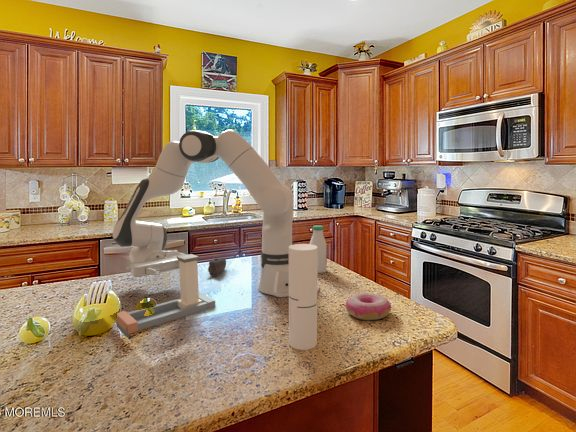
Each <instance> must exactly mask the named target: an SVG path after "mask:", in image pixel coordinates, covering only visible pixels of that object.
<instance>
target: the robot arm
mask: <svg viewBox="0 0 576 432" xmlns="http://www.w3.org/2000/svg"><path fill="white" fill-rule="evenodd" d="M218 159H221V160H222V161H223V162H224V163H225V164H226V166H227V167H228V168H229V169H230V170H231V171H232V173H233V175H235V176H236V177H237V178H238V179H239V181H240V182H241V184H243V185H244V187H245V188H246V190H247V191H248V192H249V194H250V196H251V197H252V198H253V199H254V201H255V203H256V204H257V205H258V207H259V208H260V210H261V211H262V212H263V216H262V217H263V218H262V228H261V249H262V250H261V252H260V266H261V274H260V280H259V285H258V288H257V289H258V291H259V292H261V293H263V294H265V295H271V296H273V297H276V298H286V297H287V298H288V297H289V246H290V245H293V216H294V215H293V213H294V211H293V210H294V196H293V195H294V194H293V191H292V190H291V188H290V187H289V186H287V185H286V184H284V183H282V182H281V181H280V180H279V179H278V177H277V176H276V175H275V174H274V172H273V171H272V169H271V168H270V167H269V165H268V163H266V161H265V160H264V159H263V158H262V157H261V156H260V154H259V153H258V152H257V151H256V150H255V149H254V147H253V146H252V145H251V144H250V143H249V142H248V141H247V140H246V139H245V138H244V137H243V136H241V134H239V133H238V132H236V131H235V130H233V129H226V130H225V131H222V132H221V133H220V134H218V135H217V136H216V135H215V134H212V133H209V132H207V131H205V130H204V131H203V130H198V129H197V130H196V129H194V130H193V129H192V130H188V131H186V132H184V133H183V135H181V137H180V139H179V141H177V140H172V141H168V142H167V143H166V144H165V145H164V147H163V148H162V151H161V152H160V155H159V157H158V159H157V161H156V165H155V167H154V170H153V171H152V172H151V174H150V175H149V176H148V177H147V178H144V179H141V181H140V182H139V183H138V185H137V186H136V188H135V190H134V192H133V193H132V195H131V197H130V200H128V202H127V205H126V207H125V208H124V210H123V213H122V214H121V215H120V217H119V218H118V220H117V222H116V223H115V225H114V226H113V229H112V239H113V241H114V242H115V243H116V244H117V245H118V246H120V247H123V248H124V247H132V248H131V249H130V250H129V251H130V252H129V258H130V261H131V263H130V264H129V265H128V266H125V269H126V270H127V271H130V275H132V277H134V278H141V277H145V276H147V277H148V276H150V275H151V276H159V275H160V274H162V273H165V272H166V273H167V272H171V271H175V270H177V271H178V270H179V260H177V257H178V256H183V255H187V254H186V253H183V252H179V251H178V250H177V249H165V247H166V245H167V242H168V233H167V231H166V228H165V227H164V225H163V224H162V223H159V222H158V223H157V222H153V221H143V220H142V221H141V220H137V219H138V216H139V215H140V213H141V211H142V210H143V207H144V206H145V204H146V202H148V201H149V200H151V199H154V198H155V199H156V198H158V197H164V196H170V195H173V194H175V193H177V192H178V191H180V190H181V189H182V187H183V185H184V183H185V180H186V178H187V174H188V171H189V168H190V166H191V165H192V164H193V163H195V162H196V163H201V164H205V163H206V164H207V163H214V162H215V161H217V160H218ZM319 291H320V287H319V284H318V283H317V293H318V292H319Z"/></svg>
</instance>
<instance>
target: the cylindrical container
mask: <svg viewBox="0 0 576 432" xmlns="http://www.w3.org/2000/svg"><path fill="white" fill-rule="evenodd" d="M317 263H318V247H317V246H316V245H311V244H310V243H295V244H292V245H290V246H289V296H288V344H289V346H290V347H291V348H293V349H295V350H300V351H308V350H311V349H313V348H316V346H317V345H318V343H317V342H318V292H317V284H318V273H317Z"/></svg>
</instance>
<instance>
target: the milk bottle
mask: <svg viewBox="0 0 576 432" xmlns="http://www.w3.org/2000/svg"><path fill="white" fill-rule="evenodd" d="M309 244H311V245H316V246H317V247H318V263H317V274H322V273H325V272H326V271H327V268H328V267H327V261H328V260H327V259H328V258H327V257H328V254H327V250H328V248H327V240H326V239H325V236H324V226H323V225H320V224H319V225H313V226H312V235H311V239H310V241H309Z"/></svg>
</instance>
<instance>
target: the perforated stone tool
mask: <svg viewBox="0 0 576 432" xmlns="http://www.w3.org/2000/svg"><path fill="white" fill-rule="evenodd" d="M208 265H209V266H208V268H207V271H208V274H209V275H210V276H211V277H219V276H220V275H221V274H222V273H223V272H224V271H225V269H226V266H227V260H226V258H225V257H222V256H221V257H217V258H213V259H211V260H210V261H209V262H208Z"/></svg>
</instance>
